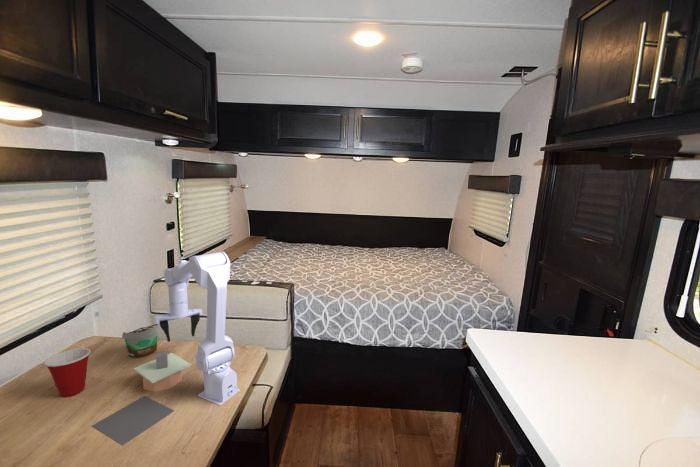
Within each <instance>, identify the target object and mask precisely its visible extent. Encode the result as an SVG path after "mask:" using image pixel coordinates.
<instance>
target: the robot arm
mask: <svg viewBox="0 0 700 467" xmlns="http://www.w3.org/2000/svg"><path fill="white" fill-rule="evenodd" d="M230 276H231V261H230V258H229V256H228V254H227V253H226V252H225V251H223V250H221V251H218V252H213V253H207V254H200V255H192V256H190V257H188V260H185V259H184V260H180V261H179V263H178V264H175V265H174V267H172V268H165V270H164V272H163V277H164V282H165V284H166V285H167V288H168V289H167V290H168V291H167V292H168V303H169V312H168V313H164V314H160V315H157V316H154V319H155V324H158V325H159V328H161V329H162V331H163V333H164V334H165V338H166V341H167V343H170V342H171V337H170V330H169V329H170V328H169V327H170V325H169V321H174V320H179V319H184V318H185V319H186V318H189V317H190V325H191V326H190V332H191V333H190V334H191V337H195V333H196V330H197V326H198V324H199V322H200V320H201V317H200V316H203V313H204V312H203V308H202V307H201V308H191V309H190V308H189V297H188V288H189V282H190V279H191V278H192V277H193V279H194V281H195V282H196V283H197V285H198V287H199V288H202V289H203V288H204V289H207V294H206V295H207V296H206V298H207V299H206V332H205V333H206V334H205V338H204V339H203V340H202V341H201V342H200V344H198V346H197V352H196V354H195V363H196V366H197V368H198V370H199V371H201V372H202V373H203V386H204V389H203V391H201V392H200V393H198V394H197V395H198V397H199V398H201V399H204V400H207V401H209V402H210V403H213V404H216V405H218V406H222V405H223V404H224V403H225V402H227V401H228V400H229V399H231V398H232V397H234V396H235V395H236V394H238V393H239V392H240V389H239V388H238V374H237V372H236V371H235V370H234V369H232V368H231V367H230V366H231V364H232V361H233V360H234V359H235V354H236V353H235V348H234V341H233V340H232V338H231V337H230V336H229V335H227V334H226V318H227V317H226V312H227V296H228V295H227V293H228V282H229V281H230V280H231V279H230V278H231V277H230Z"/></svg>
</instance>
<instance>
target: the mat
mask: <svg viewBox="0 0 700 467" xmlns="http://www.w3.org/2000/svg"><path fill="white" fill-rule="evenodd" d="M174 412H175V410H174V409H172V408H170V407H168V406H166V405H164V404H162V403H161V402H158V401H156V400H153V399H152V398H150V397H148V396H145V395H143V396H141V397H140V398H138V399H135V401H132V402H131V403H129V404H127V405H125V406H123V407H121V409H119V410H117V411H115V412H114V413H112V414H110V415H108V416H106V417H104V418H102V419H101V420H100V421H98V422H96V423H94V424H92V425H91V428H93V429H95V430H97V431H98V432H100V433H102V434H103V435H104V436H106V437H108V438H109V439H111V440H113V441H115V442H116V443H117V444H119V445H121V446H125V445H126V444H127V443H129V442H131V441H132V440H133V439H135V438H136V437H138V436H140V435H141V434H142V433H144V432H145V431H147V430H148V429H150V428H151V427H153V426H155V425H156V424H157V423H159V422H161V421H162V420H163V419H165V418H166V417H169V415H171V414H173V413H174Z"/></svg>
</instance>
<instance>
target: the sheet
mask: <svg viewBox="0 0 700 467" xmlns="http://www.w3.org/2000/svg"><path fill="white" fill-rule="evenodd" d="M155 355H156V356H155V359H153V360H150V361H148V362H146V363H145V362H144V363H143V364H141V365H139V366H136V367H133V371H135V372H136V373H137V374H139V376H141V377H142V378H143V377H144V378H145V379H147V380H148V381H149V382H151V383H155V382H157V381H159V380H161V379H163V378H165V377H168V376H170V375H172V374H174V373H176V372H178V371H180V370H181V371H182V370H185V369H186V368H189V367H190V366H191V367H192V364H191V363H190V362H189V361H186V360H185V359H183V358H182V357H180V356H178V355H176V354H175V353H173V352H170V353H168V351H164V352H157V353H156V354H155Z"/></svg>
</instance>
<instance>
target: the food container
mask: <svg viewBox="0 0 700 467" xmlns="http://www.w3.org/2000/svg"><path fill="white" fill-rule="evenodd" d="M160 328H161V327H160V324H159V323H158V324H156V323H154V324H151V325H149V326H145V327H144V326H143V327H140V328H138V329H134V330H133V331H129V332H125V331H123V333H122V336H121V338H122V339H124V342H125V347H126V351H127V356H128V357H129V358H132V359H139V358H145V357H149V356H150V354H151V355H152V354H154V353H156V351H157V349H158V332H159V330H160Z"/></svg>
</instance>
